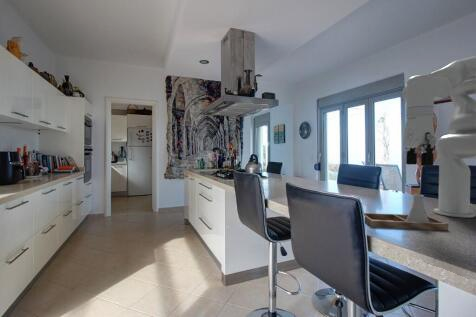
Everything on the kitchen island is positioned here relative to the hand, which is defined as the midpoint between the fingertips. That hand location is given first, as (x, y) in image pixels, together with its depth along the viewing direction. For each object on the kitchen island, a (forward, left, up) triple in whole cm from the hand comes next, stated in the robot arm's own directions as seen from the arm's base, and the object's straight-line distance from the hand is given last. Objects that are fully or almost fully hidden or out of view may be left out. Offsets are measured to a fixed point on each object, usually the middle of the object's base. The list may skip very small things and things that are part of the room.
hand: (418, 164), depth 87 cm
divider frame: (+5, 0, -20) cm, 21 cm away
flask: (0, 0, -20) cm, 20 cm away
